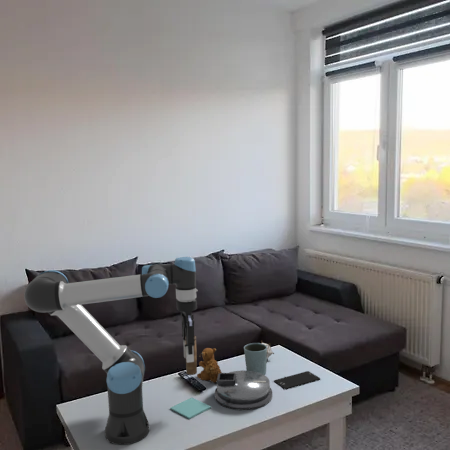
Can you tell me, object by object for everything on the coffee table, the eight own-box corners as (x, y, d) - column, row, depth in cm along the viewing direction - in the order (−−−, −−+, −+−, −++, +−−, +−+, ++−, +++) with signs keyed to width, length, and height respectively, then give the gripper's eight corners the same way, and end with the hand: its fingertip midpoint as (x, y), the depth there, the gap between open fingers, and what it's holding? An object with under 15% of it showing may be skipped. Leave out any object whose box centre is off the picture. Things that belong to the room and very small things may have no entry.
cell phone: (273, 382, 211) (273, 380, 211) (308, 372, 220) (308, 370, 220) (285, 390, 204) (285, 388, 204) (320, 380, 212) (320, 378, 212)
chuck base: (241, 377, 216) (241, 373, 216) (284, 394, 200) (284, 390, 199) (202, 396, 200) (202, 392, 199) (245, 416, 184) (245, 412, 183)
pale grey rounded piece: (268, 366, 236) (281, 350, 233) (257, 365, 229) (270, 349, 227) (258, 352, 241) (270, 337, 239) (247, 351, 235) (259, 335, 233)
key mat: (189, 419, 183) (189, 417, 183) (170, 409, 190) (170, 407, 190) (211, 407, 190) (211, 406, 190) (191, 398, 198) (191, 397, 198)
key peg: (187, 375, 186) (186, 339, 184) (185, 371, 190) (184, 335, 188) (197, 374, 187) (197, 338, 185) (195, 369, 191) (195, 334, 189)
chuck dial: (269, 379, 209) (269, 366, 208) (269, 404, 188) (269, 389, 187) (219, 379, 211) (219, 365, 210) (214, 403, 190) (213, 388, 189)
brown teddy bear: (215, 370, 224) (214, 342, 222) (229, 383, 211) (228, 353, 209) (195, 375, 220) (194, 346, 218) (207, 388, 207) (206, 358, 205)
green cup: (268, 377, 215) (267, 351, 213) (244, 378, 215) (244, 351, 213) (266, 367, 225) (266, 342, 223) (244, 368, 225) (243, 342, 223)
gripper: (201, 304, 177) (203, 367, 181) (191, 292, 194) (194, 350, 197) (180, 306, 175) (183, 370, 179) (172, 294, 192) (175, 352, 195)
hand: (188, 359), depth 188 cm, fingers closed on key peg, 4 cm apart
